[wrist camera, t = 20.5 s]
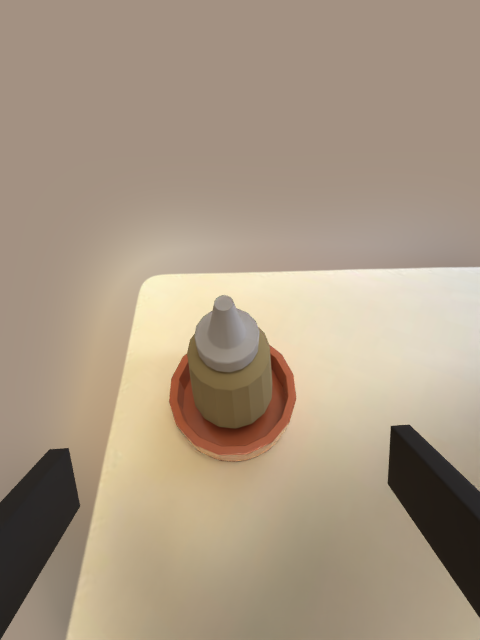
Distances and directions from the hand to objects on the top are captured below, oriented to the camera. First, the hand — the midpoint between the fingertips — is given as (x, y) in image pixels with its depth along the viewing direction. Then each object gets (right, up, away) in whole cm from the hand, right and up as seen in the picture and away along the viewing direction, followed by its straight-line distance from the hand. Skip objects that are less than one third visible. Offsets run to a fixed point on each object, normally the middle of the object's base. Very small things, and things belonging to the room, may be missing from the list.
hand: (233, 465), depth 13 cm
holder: (0, -3, +22) cm, 22 cm away
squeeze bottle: (0, -3, +21) cm, 22 cm away
